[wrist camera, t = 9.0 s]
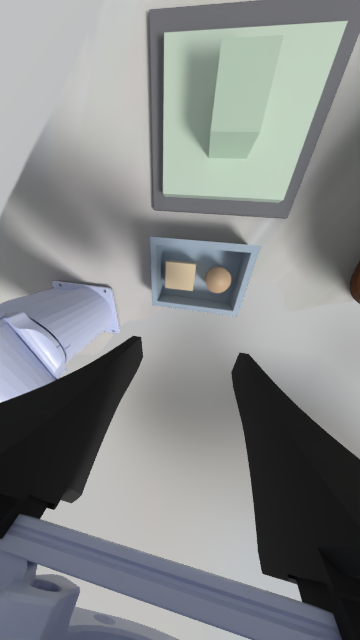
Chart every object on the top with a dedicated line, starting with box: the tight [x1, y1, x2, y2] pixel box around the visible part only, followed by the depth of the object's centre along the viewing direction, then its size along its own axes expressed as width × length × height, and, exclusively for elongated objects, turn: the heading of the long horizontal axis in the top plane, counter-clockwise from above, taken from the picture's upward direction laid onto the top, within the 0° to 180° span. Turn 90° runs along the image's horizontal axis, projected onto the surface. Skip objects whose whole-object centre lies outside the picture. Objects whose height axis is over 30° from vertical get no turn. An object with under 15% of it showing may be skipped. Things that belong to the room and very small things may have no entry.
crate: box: [150, 237, 261, 316], centre depth 15 cm, size 10×7×3 cm
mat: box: [150, 0, 360, 219], centre depth 10 cm, size 13×10×1 cm
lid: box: [163, 21, 348, 203], centre depth 9 cm, size 11×8×4 cm
